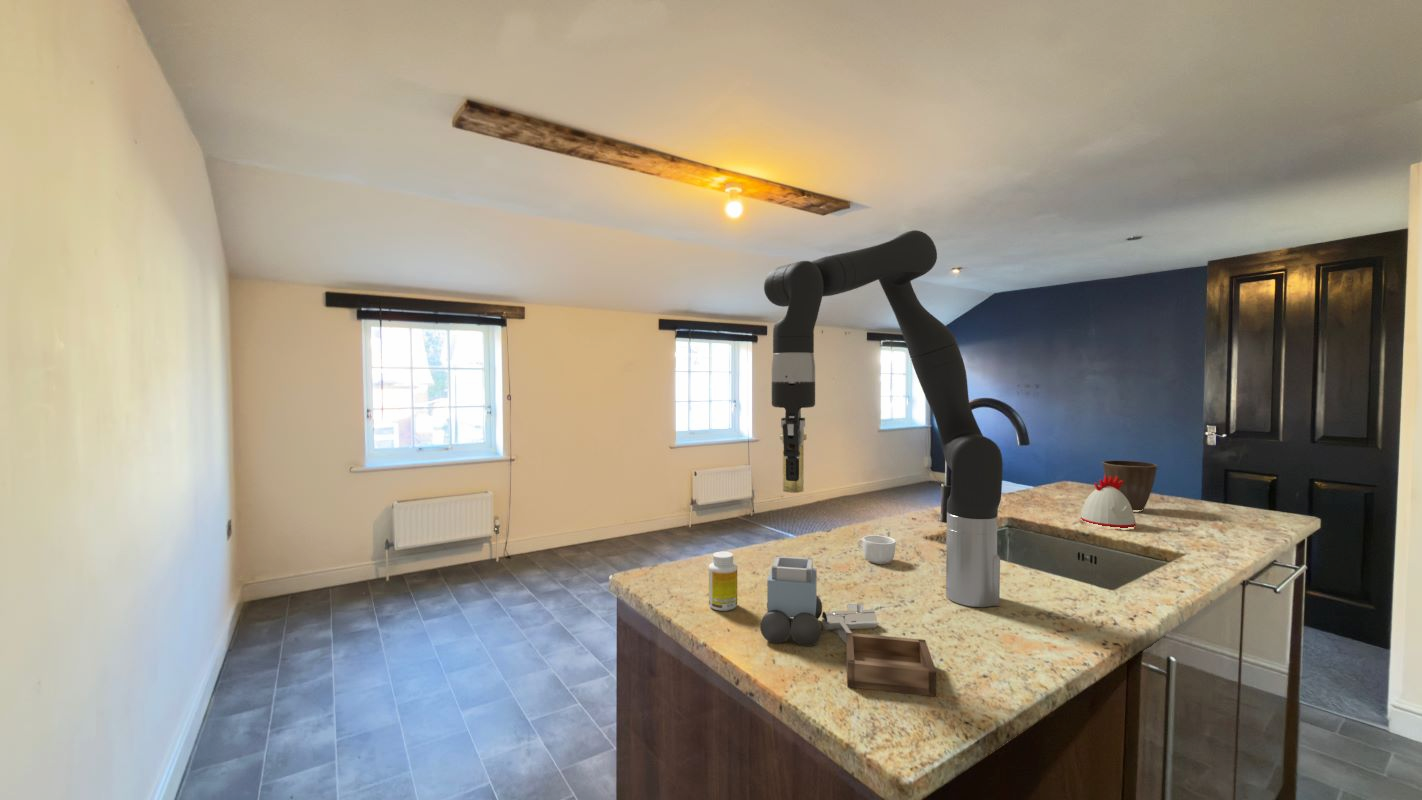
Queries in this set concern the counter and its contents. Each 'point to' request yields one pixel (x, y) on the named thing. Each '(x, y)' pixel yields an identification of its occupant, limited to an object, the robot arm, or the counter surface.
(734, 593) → the supplement bottle
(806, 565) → the trolley
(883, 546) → the teacup
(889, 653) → the tray
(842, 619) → the grey metal piece
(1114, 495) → the kitchen timer
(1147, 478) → the plant pot
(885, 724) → the counter surface
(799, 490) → the stop pin
